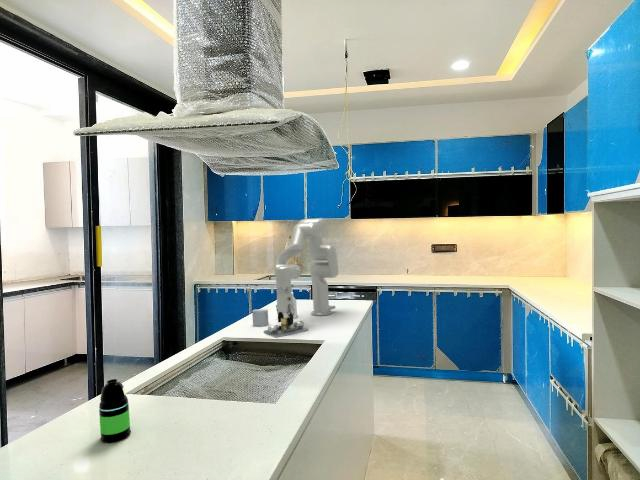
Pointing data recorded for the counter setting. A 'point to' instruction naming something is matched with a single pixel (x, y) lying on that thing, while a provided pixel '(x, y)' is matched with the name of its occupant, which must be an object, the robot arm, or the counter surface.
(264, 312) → the medicine box
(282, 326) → the cylinder
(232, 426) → the counter surface
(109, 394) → the bottle
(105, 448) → the counter surface
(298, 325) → the shaft bench
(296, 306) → the jar
